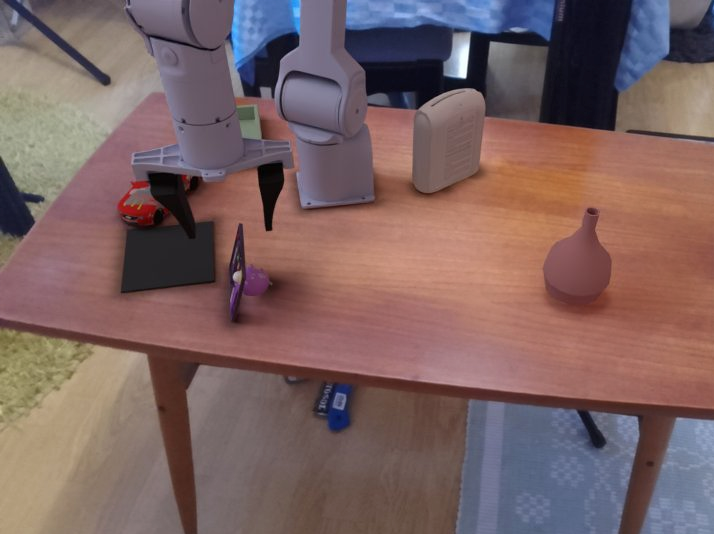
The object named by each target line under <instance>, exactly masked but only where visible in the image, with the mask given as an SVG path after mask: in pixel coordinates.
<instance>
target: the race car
mask: <svg viewBox="0 0 714 534" xmlns="http://www.w3.org/2000/svg"><path fill="white" fill-rule="evenodd" d="M182 179H183V183H184V188H185V192H186V196H187V195H189V194H190V193H191V191H195V190H197V188H198V187H199V182H201V180H203V177H200V176H192V175H183V174H182ZM129 182H130V185H132V186H131V187H130V189H129V190H128V191H127V192H126V193H125V194H124V195H123V197H122V198H121V199H120V200H119V201H118V203H117V208H116V209H117V213H118V215H119V217H120V220H121V221H122V222H123V223H125V224H127V225H129V226H133V227H147V226H148V227H149V226H152V225H160V224H162V222H163V221H164V217H165V216H166V215H168V213H170V212H169V211H168V210H167V209H166V208H165V207H164V206H163V205H161V204H160V203H159V202H157V201H156V200H155V199H154V198H153V196H152V195H151V192H150V181H149V180H147V181H139V182H137V181H136V180H135V182H134V181H133V180H131V181H129Z"/></svg>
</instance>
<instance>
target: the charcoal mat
mask: <svg viewBox="0 0 714 534" xmlns="http://www.w3.org/2000/svg"><path fill="white" fill-rule="evenodd" d="M195 225H196V239H189V238H188V236H187V234H186V233H185V231H184V229H183V228H182V226H181V225H180V224H179V223H178V224H167V225H160V226H158V225H157V226H148V227H139V228H130V229H126V238H125V245H124V246H125V247H124V255H123V265H122V276H121V283H120V293H121V294H122V293H130V292H131V293H133V292H139V291H148V290H157V289H166V288H171V287H172V288H173V287H182V286H190V285H199V284H206V283H215V251H214V249H215V246H214V243H215V242H214V221H213V220H210V221H209V220H208V221H200V222H195Z"/></svg>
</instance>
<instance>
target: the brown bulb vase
mask: <svg viewBox="0 0 714 534" xmlns="http://www.w3.org/2000/svg"><path fill="white" fill-rule="evenodd" d="M600 215H601V211H600V210H599V208H597V207H594V206H588V207H586V208H585V209H584V213H583V218H582V222H581V226H580V227H579V228H578V229H577V230H576V231H575V232H574V233H572V235H570V236H567V237H564V238H562V239H559V240H558V241H556V242H555V243H554V244H553V245H552V246H551V247H550V249H549V251H548V253H547V255H546V256H545V259H544V262H543V266H542V274H543V279H544V285H545V290H546V291H547V292H548V294H549V295H550V296H551V297H552V298H553V299H554V300H556V301H557V302H559V303H562V304H565V305H567V306H574V307H582V306H589V305H591V304H592V303H594V302H596V301H597V300H598V299H599V297H600V296H601V295H602V294H603V292H604V291H605V290H606V289H607V288H608V286H609V285H610V282H611V277H612V265H613V264H612V263H613V260H612V258H611V255H610V253H609V252H608V250H607V249H606V248H605V247H604V246H603V244H602V243H601V242H600V240H599V237H598V235H597V234H598V233H597V232H596V228H597V224H598V222H599V217H600Z"/></svg>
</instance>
